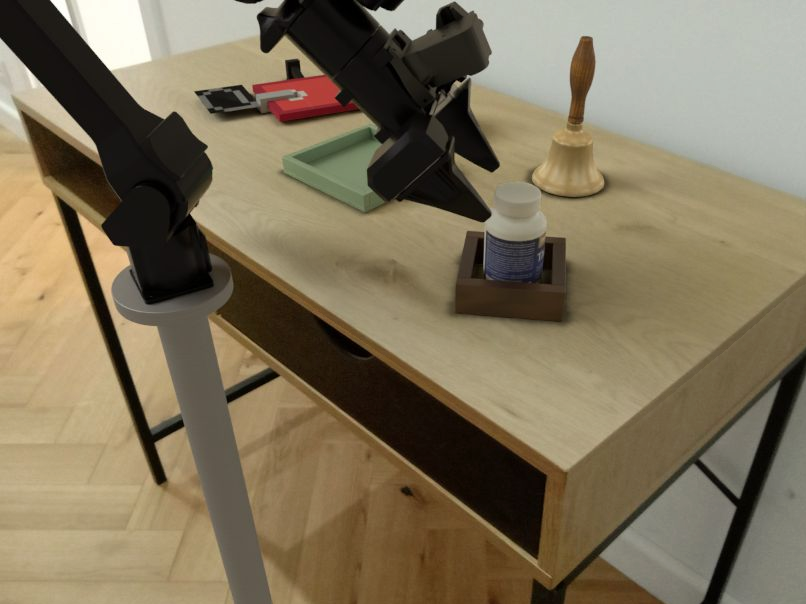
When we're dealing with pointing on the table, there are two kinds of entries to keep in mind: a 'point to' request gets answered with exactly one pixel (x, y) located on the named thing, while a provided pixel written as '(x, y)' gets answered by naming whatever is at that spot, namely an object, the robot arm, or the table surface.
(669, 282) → the table surface
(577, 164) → the hand bell
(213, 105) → the red board with handle
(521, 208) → the pill bottle
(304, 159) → the tray
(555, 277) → the bottle holder
